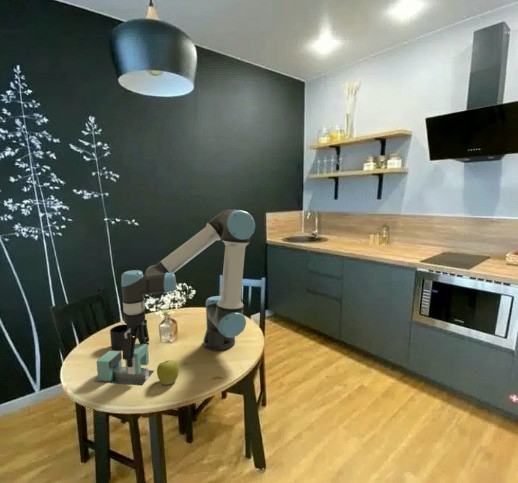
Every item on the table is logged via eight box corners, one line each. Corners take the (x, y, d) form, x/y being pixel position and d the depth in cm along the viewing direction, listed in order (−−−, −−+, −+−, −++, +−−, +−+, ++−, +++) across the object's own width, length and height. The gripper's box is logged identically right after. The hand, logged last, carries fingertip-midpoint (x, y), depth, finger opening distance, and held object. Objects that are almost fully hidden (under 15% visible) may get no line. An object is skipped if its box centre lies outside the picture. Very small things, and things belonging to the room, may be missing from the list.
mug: (138, 348, 145) (136, 330, 144) (109, 352, 141) (108, 334, 140) (139, 340, 154) (138, 322, 153) (113, 343, 150) (111, 325, 149)
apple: (182, 382, 116) (172, 360, 114) (161, 391, 115) (151, 368, 113) (182, 371, 124) (173, 349, 122) (163, 379, 123) (153, 357, 121)
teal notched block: (123, 369, 126) (121, 351, 125) (111, 381, 119) (110, 361, 117) (110, 369, 127) (109, 350, 126) (98, 380, 119) (96, 361, 118)
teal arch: (148, 362, 124) (147, 344, 123) (138, 374, 117) (137, 354, 115) (135, 362, 125) (134, 343, 124) (124, 373, 117) (123, 353, 116)
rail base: (154, 371, 126) (153, 363, 125) (142, 386, 116) (141, 377, 116) (108, 368, 128) (108, 360, 128) (93, 382, 119) (92, 374, 118)
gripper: (139, 301, 128) (142, 353, 131) (108, 321, 108) (113, 382, 111) (156, 302, 127) (159, 354, 130) (128, 322, 107) (132, 383, 110)
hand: (137, 367), depth 121 cm, fingers closed on teal arch, 8 cm apart
